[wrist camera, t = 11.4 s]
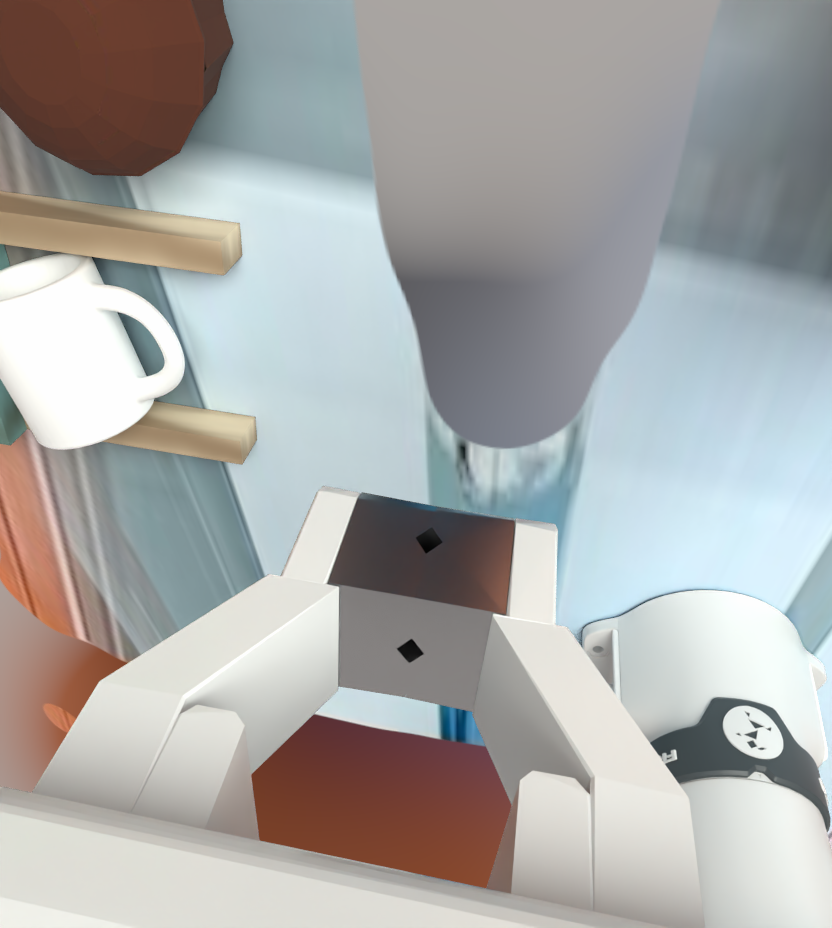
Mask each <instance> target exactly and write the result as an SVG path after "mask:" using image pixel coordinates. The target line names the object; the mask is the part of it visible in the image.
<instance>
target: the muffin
mask: <svg viewBox="0 0 832 928" xmlns="http://www.w3.org/2000/svg"><path fill="white" fill-rule="evenodd" d="M232 45H233V39H232V36H231V33H230V29H229V26H228V23H227V19H226V16H225V13H224V6H223V0H0V108H1V109H2V110H3V111H4V112H5V113H6V114H7V115H8V116H9V117H10V118H11V119H12V121H13V122H14V123H15V124H16V125H17V126H18V127H19V128H20V129H21V130H22V131H23V132H24V134H25V135H26V136H27V137H28V138H29V139H30V140H31V141H32V142H33V143H34V144H35V146H37V147H39V148H41V149H43V150H45V151H47V152H49V153H51V154H52V155H54V156H56V157H58V158H60V159H62V160H64V161H66V162H68V163H70V164H72V165H73V166H75V167H77V168H79V169H82V170H84V171H86V172H88V173H90V174H92V175H116V176H142V175H143V174H145V173H147V172H148V171H150V170H152V169H153V168H155V167H157V166H158V165H160V164H162V163H163V162H165V161H167V160H168V159H170V158H172V157H173V156H175V155H177V154H178V153H180V151H181V149H182V147H183V145H184V143H185V141H186V139H187V137H188V135H189V133H190V131H191V129H192V127H193V125H194V123H195V121H196V119H197V117H198V116H199V114H200V113H201V112H202V110H203V109H204V108H205V107H206V105H207V104H208V103H209V101H210V100H211V99H212V97H213V96H214V95H215V93H216V90H217V86H218V82H219V78H220V74H221V70H222V66H223V64H224V62H225V60H226V58H227V56H228V54H229V52H230V49H231V47H232Z"/></svg>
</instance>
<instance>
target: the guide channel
mask: <svg viewBox="0 0 832 928" xmlns="http://www.w3.org/2000/svg"><path fill="white" fill-rule="evenodd" d="M4 244H5V245H12V246H19V247H26V248H33V249H41V250H48V251H55V252H62V253H69V254H76V255H83V256H90V257H97V258H104V259H112V260H119V261H126V262H133V263H140V264H147V265H154V266H161V267H168V268H175V269H182V270H190V271H197V272H204V273H211V274H218V275H225V274H226V273H227V271H228V270H229V269H230V268H231V267H232V266H233V265H234V264H235V263H236V262H237V261H238V259H239V258H240V257H241V256H242V247H241V234H240V223H234V222H227V221H219V220H212V219H205V218H197V217H190V216H182V215H175V214H167V213H160V212H152V211H145V210H137V209H130V208H123V207H115V206H108V205H100V204H93V203H85V202H78V201H70V200H63V199H55V198H48V197H41V196H33V195H26V194H18V193H11V192H3V191H0V270H2V269H5V268H7V267H10V264H9V260H8V257H7V253H6V250H5V246H4ZM27 429H29V430H31V429H30V428H29V426H28V424H27V423H26V421H25V419H24V418H23V416H22V414H21V413H20V411H19V409H18V408H17V406H16V404H15V402H14V401H13V399H12V397H11V396H10V394H9V392H8V391H7V389H6V387H5V386H4V384H3V382H2V381H1V379H0V444H5V445H11V444H12V443H13V442H14V441H15V440H16V439H17V438H19V437H20V436H21V435H22V434H23V433H24V432H25V431H26V430H27ZM256 440H257V435H256V422H255V417H252V416H245V415H239V414H233V413H226V412H220V411H214V410H207V409H201V408H195V407H188V406H182V405H176V404H170V403H163V402H157V401H154V402H153V404H152V406H151V408H150V409H149V411H148V412H147V413H146V414H145V415H144V416H143V417H142V418H141V419H140V420H139V421H138V422H136V423H135V424H134V425H132V426H131V427H129V428H128V429H126V430H124V431H123V432H121V433H119V434H117V435H115V436H113V437H111V438H109V439H106V440H104V441H102V442H108V443H115V444H121V445H127V446H133V447H139V448H145V449H151V450H157V451H163V452H169V453H175V454H181V455H188V456H194V457H200V458H206V459H212V460H218V461H224V462H230V463H236V464H243V463H244V461H245V459H246V458H247V456H248V454H249V452H250V451H251V449H252V447H253V445H254V444H255V442H256Z"/></svg>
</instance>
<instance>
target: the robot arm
mask: <svg viewBox="0 0 832 928" xmlns="http://www.w3.org/2000/svg"><path fill="white" fill-rule="evenodd" d="M557 535H558V530H557V528H556V526H555V524H551V523H545V522H538V521H531V520H524V519H517V518H516V519H515V520H514V519H513V518H507V517H500V516H494V515H488V514H481V513H475V512H469V511H463V510H456V509H450V508H444V507H437V506H432V505H426V504H421V503H416V502H411V501H405V500H400V499H395V498H389V497H384V496H379V495H374V494H368V493H363V492H362V493H358V492H354V491H348V490H343V489H338V488H333V487H327V486H323V487H322V488H321V489H320V490H319V491H318V492H317V493H316V495H315V497H314V500H313V502H312V504H311V507H310V509H309V511H308V513H307V516H306V518H305V520H304V523H303V525H302V527H301V530H300V532H299V534H298V537H297V539H296V541H295V543H294V546H293V548H292V550H291V553H290V555H289V557H288V560H287V562H286V564H285V567H284V569H283V571H282V573H281V576H277V575H271V574H268V575H267V576H265V577H264V578H262V579H260V580H259V581H257V582H256V583H254V584H252V585H251V586H249V587H248V588H246V589H245V590H243V591H241V592H240V593H238V594H237V595H235V596H233V597H232V598H230V599H229V600H227V601H226V602H224V603H222V604H221V605H219V606H218V607H216V608H215V609H213V610H211V611H210V612H208V613H207V614H205V615H203V616H202V617H200V618H199V619H197V620H196V621H194V622H192V623H191V624H189V625H188V626H186V627H185V628H183V629H181V630H180V631H178V632H177V633H175V634H173V635H172V636H170V637H169V638H167V639H166V640H164V641H162V642H161V643H159V644H158V645H156V646H155V647H153V648H151V649H150V650H148V651H147V652H145V653H143V654H142V655H140V656H139V657H137V658H136V659H134V660H132V661H131V662H129V663H128V664H126V665H125V666H123V667H122V668H120V669H118V670H117V671H115V672H113V673H112V674H110V675H109V676H107V677H106V678H104V679H102V680H101V681H99V683H98V685H97V686H96V688H95V690H94V691H93V693H92V695H91V696H90V698H89V699H88V701H87V703H86V704H85V706H84V708H83V709H82V711H81V713H80V714H79V716H78V717H77V719H76V721H75V722H74V724H73V726H72V727H71V729H70V731H69V732H68V734H67V736H66V737H65V739H64V741H63V742H62V744H61V745H60V747H59V749H58V750H57V752H56V754H55V755H54V757H53V759H52V760H51V762H50V763H49V765H48V767H47V768H46V770H45V772H44V773H43V775H42V777H41V778H40V780H39V782H38V783H37V785H36V787H35V788H34V790H33V791H32V793H31V792H27V791H22V790H17V789H12V788H8V787H2V786H0V928H832V849H831V845H830V841H829V838H828V834H827V832H828V830H829V827H830V815H829V811H828V798H827V794H826V790H825V786H824V784H823V783H822V780H821V778H820V774H819V770H818V768H819V767H820V765H821V764H822V762H823V761H826V759H827V755H828V750H827V744H826V739H825V733H824V728H823V723H822V718H821V713H820V708H819V703H818V698H817V693H816V691H817V690H818V689H819V688H820V687H821V686H822V685H823V684H824V683H825V682H826V680H827V677H826V671H825V666H824V665H823V663H822V662H821V661H820V660H818V659H817V658H816V657H815V656H813V655H812V654H811V653H809V652H808V651H807V650H806V649H805V648H804V647H803V645H802V642H801V640H800V637H799V634H798V632H797V630H796V628H795V627H794V625H793V624H792V623H791V621H790V620H789V619H788V618H787V617H786V616H785V615H784V614H782V613H781V612H780V611H779V610H777V609H776V608H774V607H772V606H771V605H769V604H767V603H765V602H763V601H760V600H758V599H755V598H753V597H749V596H746V595H742V594H738V593H733V592H726V591H717V590H694V591H685V592H678V593H673V594H669V595H665V596H662V597H658V598H656V599H653V600H650V601H648V602H646V603H644V604H642V605H640V606H638V607H636V608H635V609H633V610H631V611H629V612H628V613H626V614H624V615H622V616H619V617H615V618H610V619H606V620H601V621H597V622H594V623H591V624H589V625H587V626H586V627H585V628H584V629H583V632H582V647H581V645H580V644H579V643H578V641H577V640H576V638H575V637H574V635H573V634H572V633H571V631H570V630H569V628H568V627H563V626H558V625H555V618H556V576H557ZM338 686H340V687H346V688H352V689H358V690H365V691H371V692H377V693H383V694H389V695H395V696H402V697H407V698H412V699H416V700H421V701H425V702H430V703H435V704H439V705H444V706H448V707H453V708H458V709H462V710H467V711H471V712H473V714H472V715H473V718H474V720H475V722H476V725H477V727H478V729H479V731H480V734H481V736H482V738H483V741H484V743H485V745H486V747H487V750H488V752H489V754H490V757H491V759H492V761H493V763H494V766H495V768H496V770H497V772H498V775H499V777H500V779H501V782H502V784H503V786H504V789H505V791H506V793H507V795H508V797H509V799H510V802H511V805H512V807H511V811H510V814H509V817H508V820H507V824H506V827H505V830H504V833H503V837H502V840H501V843H500V846H499V849H498V853H497V856H496V859H495V862H494V866H493V869H492V872H491V875H490V879H489V882H488V885H487V888H486V889H485V888H481V887H476V886H472V885H467V884H463V883H458V882H453V881H448V880H444V879H439V878H434V877H430V876H425V875H420V874H415V873H410V872H406V871H401V870H396V869H392V868H387V867H382V866H377V865H372V864H368V863H363V862H358V861H354V860H349V859H344V858H340V857H335V856H330V855H325V854H321V853H316V852H311V851H306V850H302V849H297V848H291V847H287V846H282V845H277V844H273V843H268V842H264V841H259V834H258V826H257V818H256V810H255V802H254V796H253V787H252V779H251V774H252V773H253V772H254V771H255V770H256V769H257V768H258V767H259V766H260V765H261V764H262V763H263V762H264V761H265V760H266V759H268V758H269V757H270V756H271V755H272V754H273V753H274V752H275V751H276V750H277V749H278V748H279V747H280V746H281V745H282V744H283V743H284V742H285V741H286V740H287V739H288V738H289V737H290V736H291V735H292V734H293V733H294V732H295V731H297V730H298V728H300V727H301V726H302V725H303V724H304V723H305V722H306V721H307V720H308V719H309V718H310V717H311V716H312V715H313V714H314V713H315V712H316V711H317V710H318V709H319V708H320V707H321V706H322V705H324V704H325V703H326V702H327V701H328V700H329V699H330V698H331V697H332V696H333V695H334V694H335V693H336V692H337V691H338Z"/></svg>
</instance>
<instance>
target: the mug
mask: <svg viewBox="0 0 832 928" xmlns="http://www.w3.org/2000/svg"><path fill="white" fill-rule="evenodd" d="M117 312H120V313H123V314H126V315H128V316H131V317H133V318H134V319H136V320H138V321H139V322H140V323H142V324H143V325H144V326H145V327H146V328H147V329H148V330H149V331H150V333H151V334H152V335H153V337H154V338H155V340H156V341H157V343H158V345H159V347H160V349H161V351H162V353H163V356H164V359H165V365H164V367H163V369H162V370H161V371H160V372H158V373H156V374H154V375H151V376H146V373H145V371H144V369H143V367H142V365H141V363H140V360H139V358H138V356H137V354H136V352H135V350H134V347H133V345H132V343H131V341H130V339H129V337H128V335H127V332H126V330H125V328H124V326H123V324H122V322H121V319H120V317H119V315H118V313H117ZM184 370H185V360H184V355H183V351H182V348H181V345H180V343H179V340H178V338H177V336H176V334H175V333H174V331H173V329H172V328H171V326H170V325H169V323H168V322H167V320H166V319H165V318H164V317H163V315H162V314H161V313H160V312H159V311H158V310H157V309H156V308H155V307H154V306H153V305H152V304H150V303H149V302H148V301H147V300H145V299H144V298H142V297H141V296H139V295H137V294H136V293H134V292H131V291H129V290H127V289H124V288H121V287H117V286H112V285H104V283H103V280H102V278H101V276H100V274H99V272H98V270H97V268H96V265H95V263H94V261H93V259H92V258H91V257H90V256H83V255H76V254H69V253H57V254H52V255H47V256H42V257H38V258H35V259H31V260H28V261H24V262H21V263H18V264H15V265H13V266H10V267H7V268H5V269H2V270H0V379H1V381H2V382H3V384H4V386H5V387H6V389H7V391H8V392H9V394H10V396H11V397H12V399H13V401H14V402H15V404H16V406H17V408H18V409H19V411H20V413H21V414H22V416H23V418H24V419H25V421H26V423H27V424H28V426H29V428H30V429H31V431H32V433H33V434H34V436H35V438H36V439H37V441H38V442H39V443H40V444H41V445H43V446H44V447H47V448H50V449H57V450H67V449H76V448H81V447H85V446H89V445H92V444H96V443H99V442H101V441H104V440H106V439H109V438H111V437H113V436H115V435H117V434H119V433H121V432H123V431H124V430H126V429H128V428H129V427H131V426H132V425H134V424H135V423H136V422H138V421H139V420H140V419H141V418H142V417H143V416H144V415H145V414H146V413H147V412H148V411H149V409H150V408H151V406H152V404H153V402H154V398H158V397H160V396H163V395H165V394H167V393H169V392H170V391H172V390H173V389H174V388H176V387H177V385H178V384H179V383H180V381H181V380H182V378H183V375H184Z"/></svg>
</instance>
